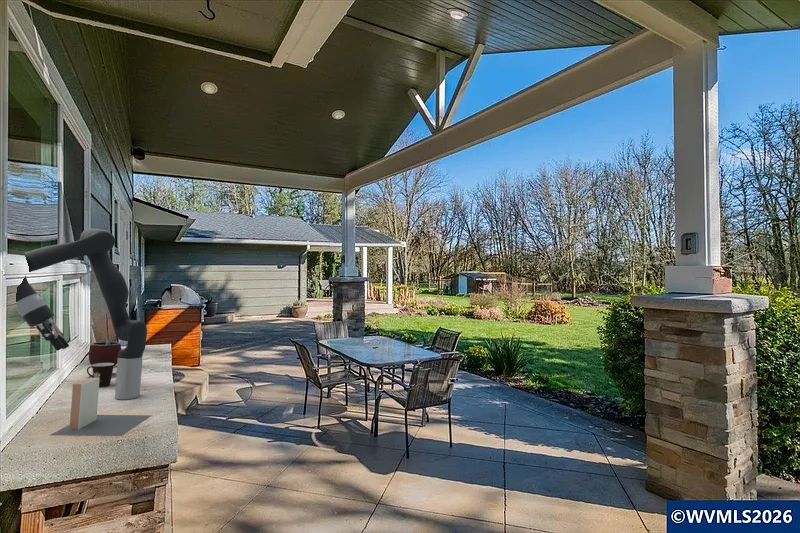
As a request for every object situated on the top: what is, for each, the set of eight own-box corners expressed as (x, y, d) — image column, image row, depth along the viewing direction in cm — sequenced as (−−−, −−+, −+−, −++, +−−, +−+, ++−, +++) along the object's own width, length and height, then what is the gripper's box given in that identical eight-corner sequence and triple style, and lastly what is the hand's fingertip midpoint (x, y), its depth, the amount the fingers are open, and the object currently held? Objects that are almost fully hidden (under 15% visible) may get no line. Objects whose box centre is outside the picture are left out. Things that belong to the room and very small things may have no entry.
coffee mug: (116, 385, 207) (117, 364, 207) (96, 388, 199) (97, 367, 200) (103, 381, 212) (105, 361, 213) (83, 385, 205) (85, 363, 206)
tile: (87, 419, 156) (90, 377, 156) (96, 419, 156) (99, 377, 157) (69, 429, 146) (72, 384, 147) (79, 429, 146) (82, 384, 147)
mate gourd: (84, 375, 224) (87, 336, 224) (116, 372, 233) (118, 335, 234) (90, 381, 212) (93, 340, 213) (123, 378, 222) (126, 338, 223)
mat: (90, 416, 161) (90, 414, 162) (152, 416, 164) (152, 415, 164) (48, 436, 140) (49, 435, 140) (121, 437, 142) (121, 435, 142)
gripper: (40, 303, 145) (70, 343, 148) (51, 304, 158) (78, 341, 160) (15, 316, 142) (46, 356, 145) (28, 316, 155) (57, 353, 157)
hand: (63, 348), depth 153 cm, fingers open, 8 cm apart
